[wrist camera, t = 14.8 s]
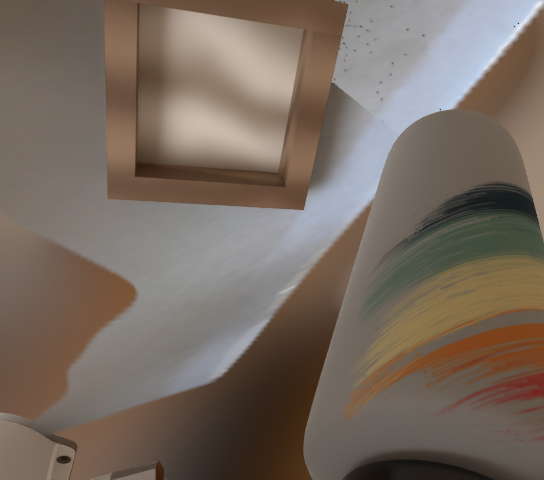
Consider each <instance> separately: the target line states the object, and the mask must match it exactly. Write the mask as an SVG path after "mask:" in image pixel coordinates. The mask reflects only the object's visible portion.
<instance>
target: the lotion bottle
mask: <svg viewBox="0 0 544 480" xmlns="http://www.w3.org/2000/svg"><path fill="white" fill-rule="evenodd" d="M303 450H304V458H305V463H306V465H307V468H308V470H309V473H310V476H311V477H312V479H313V480H544V242H543V238H542V234H541V230H540V226H539V222H538V218H537V214H536V210H535V206H534V202H533V198H532V195H531V190H530V187H529V183H528V178H527V175H526V171H525V167H524V163H523V160H522V157H521V154H520V151H519V148H518V146H517V144H516V142H515V140H514V139H513V137H512V136H511V134H510V133H509V132H508V131H507V130H506V129H505V128H504V127H503V126H502V125H501V124H500V123H498V122H497V121H495V120H494V119H492V118H490V117H488V116H486V115H484V114H481V113H478V112H474V111H470V110H445V111H440V112H436V113H433V114H430V115H427V116H425V117H423V118H421V119H419V120H417V121H416V122H414V123H413V124H412V125H410V126H409V127H408V128H407V129H406V130H405V131H404V132H403V133H402V134H401V135H400V136H399V137H398V138H397V140H396V141H395V143H394V144H393V146H392V148H391V150H390V152H389V155H388V157H387V160H386V162H385V165H384V168H383V172H382V175H381V178H380V181H379V185H378V188H377V191H376V194H375V198H374V201H373V204H372V208H371V211H370V215H369V218H368V221H367V224H366V228H365V231H364V234H363V238H362V241H361V244H360V247H359V251H358V254H357V258H356V261H355V264H354V267H353V271H352V274H351V277H350V280H349V284H348V287H347V290H346V294H345V297H344V300H343V304H342V307H341V310H340V313H339V317H338V320H337V323H336V327H335V330H334V333H333V337H332V340H331V343H330V346H329V350H328V353H327V356H326V360H325V363H324V366H323V370H322V373H321V377H320V380H319V384H318V387H317V391H316V394H315V397H314V401H313V404H312V408H311V411H310V415H309V419H308V423H307V427H306V431H305V439H304V448H303Z"/></svg>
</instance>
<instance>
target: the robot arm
mask: <svg viewBox="0 0 544 480" xmlns="http://www.w3.org/2000/svg"><path fill="white" fill-rule="evenodd" d="M33 422H34V421H32V420H29V419H27V418H24V417H21V416H18V415H13V414H8V413H1V412H0V480H70V475H71V472H72V468H73V463H74V459H75V455H76V451H77V444H76V443H75V442H74V441H71V440H69V439H66V438H63V437H60V436H56V435H54V434H50V435H47V436H43V435H42V434H40V433H38V432H37V431H35V430H33V429H31V428H28V427H29V426H30V425H31V424H32V423H33ZM90 480H168V479H165V478H164V469H163V467H162V465H161V463H160V461H156V462H153V463H149V464H145V465H141V466H137V467H133V468H129V469H126V470H122V471H118V472H113V473H109V474H106V475H102V476H98V477H94V478H91V479H90Z"/></svg>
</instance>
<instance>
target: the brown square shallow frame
mask: <svg viewBox="0 0 544 480" xmlns="http://www.w3.org/2000/svg"><path fill="white" fill-rule="evenodd" d="M347 9H348V4H345V3H341V2H337V1H333V0H104V25H105V77H106V129H107V181H108V199H121V200H138V201H156V202H173V203H191V204H208V205H225V206H243V207H260V208H278V209H295V210H304V206H305V202H306V197H307V193H308V188H309V183H310V179H311V174H312V170H313V165H314V160H315V156H316V151H317V147H318V142H319V137H320V133H321V128H322V124H323V119H324V114H325V110H326V105H327V101H328V96H329V91H330V87H331V82H332V78H333V73H334V68H335V64H336V59H337V55H338V50H339V45H340V41H341V36H342V32H343V27H344V22H345V18H346V13H347Z"/></svg>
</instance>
